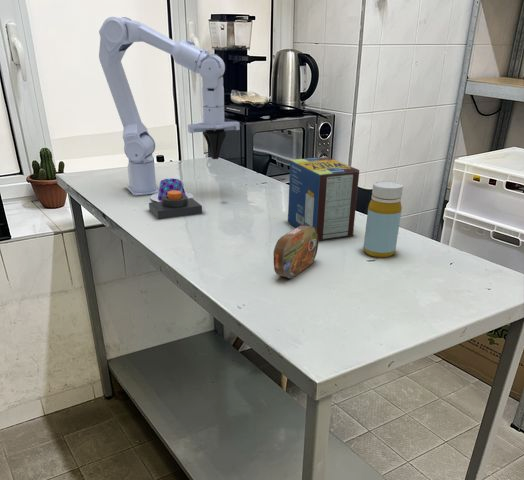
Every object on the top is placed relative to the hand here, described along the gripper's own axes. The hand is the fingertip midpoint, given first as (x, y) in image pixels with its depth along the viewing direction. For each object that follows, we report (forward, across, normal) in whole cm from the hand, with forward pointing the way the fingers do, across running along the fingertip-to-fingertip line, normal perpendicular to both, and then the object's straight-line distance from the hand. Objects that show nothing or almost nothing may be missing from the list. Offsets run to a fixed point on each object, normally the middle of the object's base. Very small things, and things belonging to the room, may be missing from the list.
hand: (214, 158), depth 152 cm
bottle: (+11, +16, -57) cm, 60 cm away
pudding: (+11, -13, +1) cm, 17 cm away
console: (+10, -16, -11) cm, 22 cm away
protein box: (+11, +12, -38) cm, 41 cm away
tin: (+11, -6, -58) cm, 59 cm away
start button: (+7, -16, -11) cm, 21 cm away
